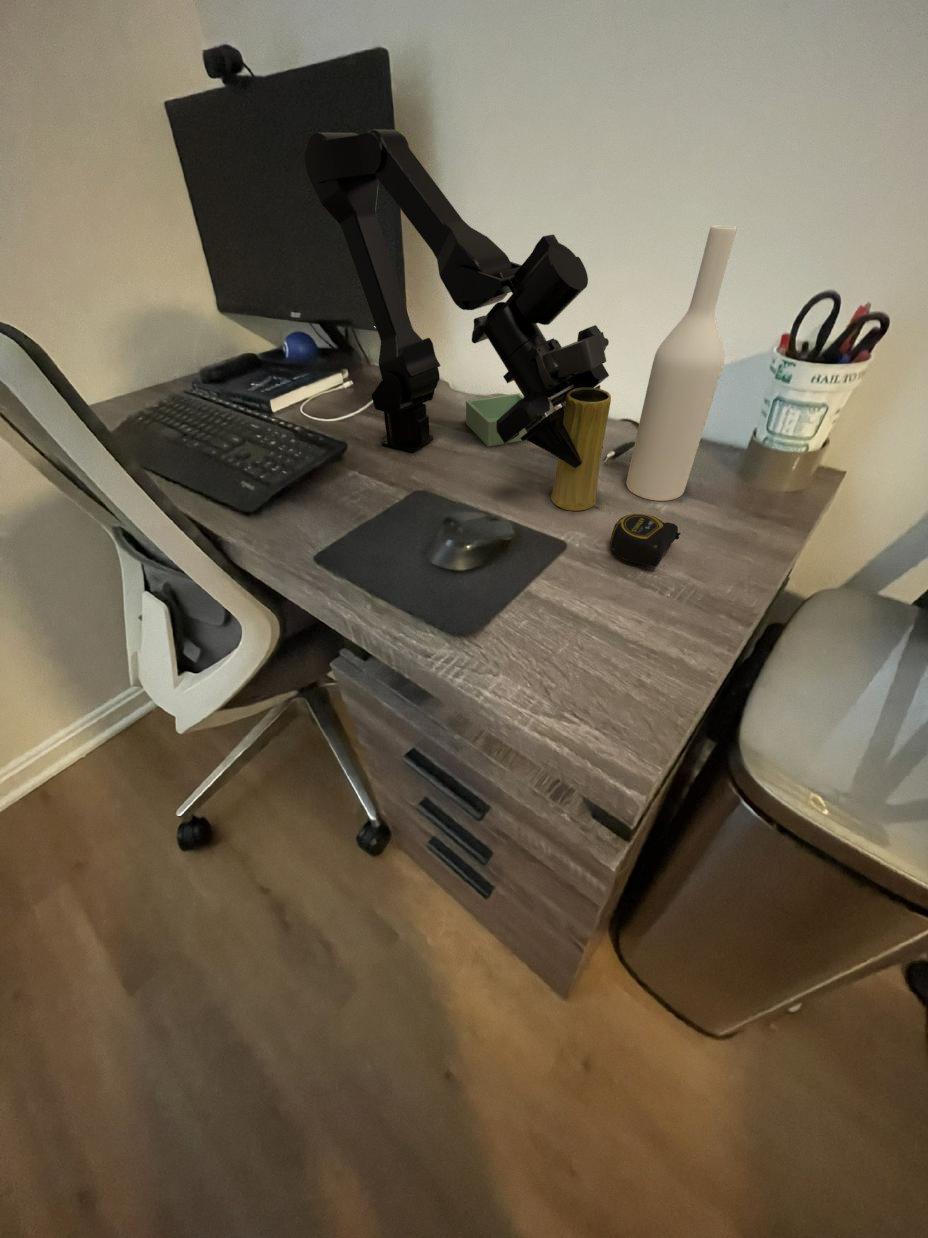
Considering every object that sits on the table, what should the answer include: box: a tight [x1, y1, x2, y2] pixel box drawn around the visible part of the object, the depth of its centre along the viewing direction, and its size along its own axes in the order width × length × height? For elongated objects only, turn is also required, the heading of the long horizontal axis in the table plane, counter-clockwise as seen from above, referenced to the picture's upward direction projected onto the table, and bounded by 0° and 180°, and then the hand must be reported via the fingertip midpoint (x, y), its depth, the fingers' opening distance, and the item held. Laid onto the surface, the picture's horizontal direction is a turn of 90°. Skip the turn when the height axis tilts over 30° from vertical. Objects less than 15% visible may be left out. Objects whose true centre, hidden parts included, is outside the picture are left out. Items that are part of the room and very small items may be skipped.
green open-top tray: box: [465, 392, 527, 447], centre depth 88 cm, size 10×10×4 cm
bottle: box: [625, 224, 738, 502], centre depth 64 cm, size 8×8×30 cm
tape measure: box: [610, 513, 682, 568], centre depth 61 cm, size 7×7×4 cm
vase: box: [550, 387, 612, 512], centre depth 67 cm, size 6×6×14 cm
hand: (589, 458), depth 67 cm, fingers closed on vase, 5 cm apart
